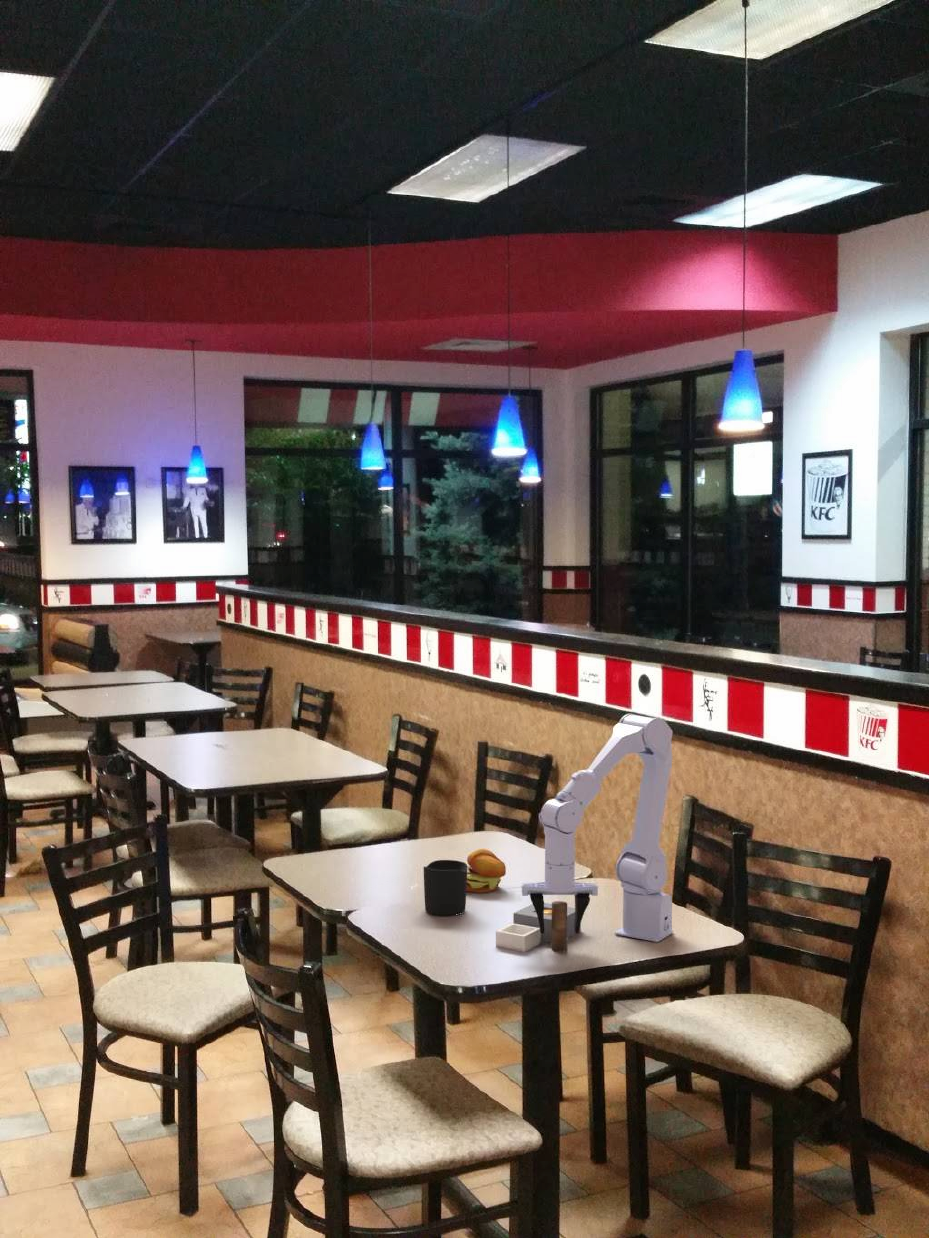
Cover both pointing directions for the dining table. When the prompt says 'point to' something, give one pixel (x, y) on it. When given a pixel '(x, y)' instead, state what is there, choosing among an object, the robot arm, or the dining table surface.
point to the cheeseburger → (484, 871)
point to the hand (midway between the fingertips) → (559, 931)
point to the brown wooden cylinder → (559, 926)
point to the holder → (518, 937)
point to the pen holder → (445, 887)
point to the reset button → (548, 912)
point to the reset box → (530, 918)
